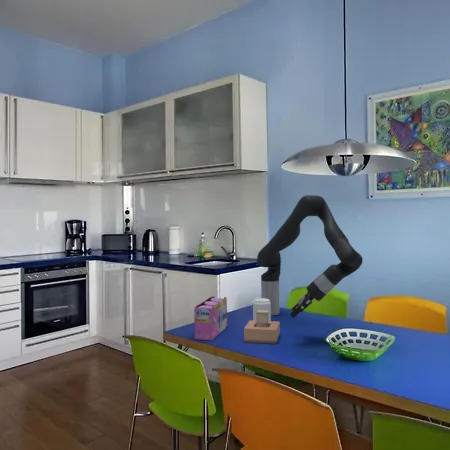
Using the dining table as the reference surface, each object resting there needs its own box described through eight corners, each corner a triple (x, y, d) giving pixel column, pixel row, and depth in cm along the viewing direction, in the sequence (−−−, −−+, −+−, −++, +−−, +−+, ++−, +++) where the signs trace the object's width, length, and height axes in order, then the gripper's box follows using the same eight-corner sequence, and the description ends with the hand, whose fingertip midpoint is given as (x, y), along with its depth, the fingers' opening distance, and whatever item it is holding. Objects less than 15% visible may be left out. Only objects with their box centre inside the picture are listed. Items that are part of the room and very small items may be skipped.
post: (258, 333, 180) (257, 310, 180) (268, 334, 179) (268, 310, 179) (256, 336, 176) (256, 312, 176) (267, 337, 175) (266, 313, 175)
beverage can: (264, 328, 191) (264, 302, 190) (249, 326, 196) (249, 300, 195) (274, 324, 197) (273, 299, 197) (259, 322, 202) (259, 297, 202)
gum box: (212, 324, 200) (212, 295, 200) (228, 325, 198) (228, 296, 198) (194, 339, 178) (193, 307, 177) (212, 340, 175) (211, 308, 175)
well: (249, 332, 185) (249, 320, 185) (279, 334, 182) (279, 321, 182) (244, 341, 173) (244, 328, 172) (276, 343, 170) (276, 330, 169)
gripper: (314, 277, 179) (287, 303, 182) (313, 283, 165) (284, 311, 168) (327, 290, 178) (299, 315, 181) (327, 297, 164) (297, 325, 167)
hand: (292, 313), depth 175 cm, fingers open, 8 cm apart
